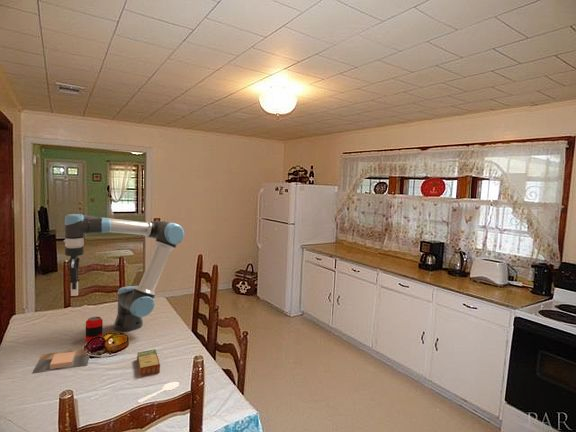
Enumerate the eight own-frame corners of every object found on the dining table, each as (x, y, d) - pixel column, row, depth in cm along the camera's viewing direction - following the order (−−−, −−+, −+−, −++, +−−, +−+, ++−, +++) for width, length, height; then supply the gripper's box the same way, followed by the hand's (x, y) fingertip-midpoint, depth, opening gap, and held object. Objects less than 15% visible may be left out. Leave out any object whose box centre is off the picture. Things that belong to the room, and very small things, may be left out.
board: (91, 350, 166) (91, 348, 166) (87, 368, 150) (87, 365, 150) (42, 356, 158) (42, 354, 158) (31, 376, 142) (31, 373, 142)
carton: (139, 377, 146) (139, 367, 145) (136, 360, 160) (136, 351, 160) (160, 373, 150) (160, 363, 149) (155, 357, 164) (155, 348, 164)
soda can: (104, 341, 176) (104, 318, 176) (88, 345, 171) (88, 322, 170) (99, 336, 182) (99, 314, 181) (83, 340, 176) (83, 318, 175)
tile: (75, 351, 158) (71, 361, 149) (75, 355, 158) (71, 365, 149) (54, 354, 155) (50, 364, 146) (54, 358, 155) (50, 368, 146)
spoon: (134, 400, 130) (134, 399, 130) (174, 380, 144) (174, 379, 144) (141, 406, 126) (141, 404, 126) (182, 385, 141) (182, 384, 141)
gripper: (67, 244, 166) (67, 292, 168) (62, 249, 155) (62, 300, 156) (85, 244, 170) (85, 290, 171) (81, 248, 158) (81, 298, 160)
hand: (74, 295), depth 164 cm, fingers closed
